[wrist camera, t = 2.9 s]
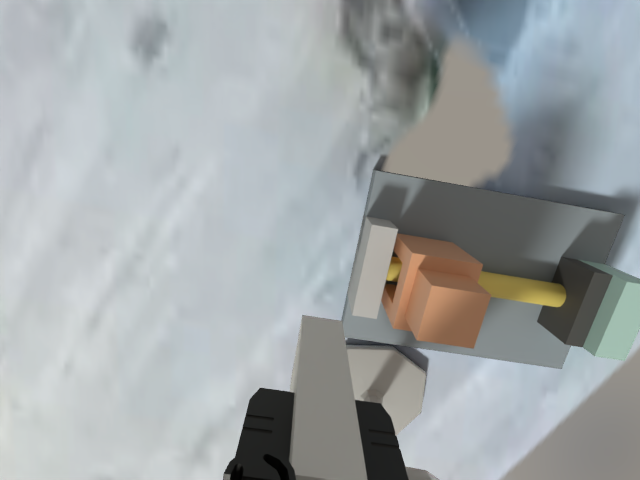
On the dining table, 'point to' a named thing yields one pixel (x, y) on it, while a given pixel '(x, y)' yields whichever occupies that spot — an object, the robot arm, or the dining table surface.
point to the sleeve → (436, 292)
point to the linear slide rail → (500, 270)
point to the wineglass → (389, 387)
